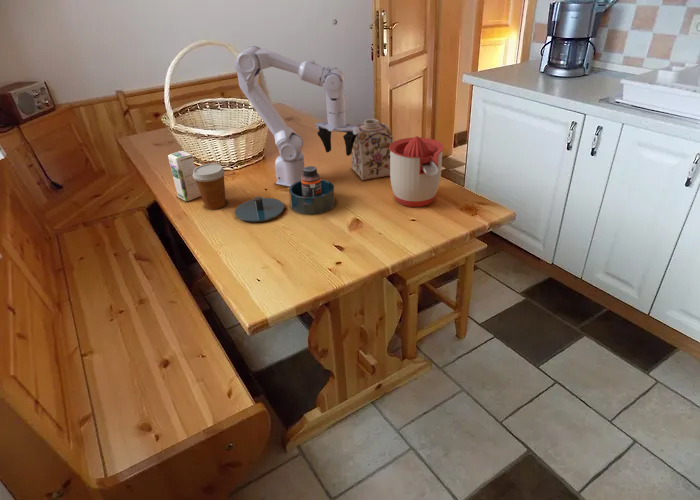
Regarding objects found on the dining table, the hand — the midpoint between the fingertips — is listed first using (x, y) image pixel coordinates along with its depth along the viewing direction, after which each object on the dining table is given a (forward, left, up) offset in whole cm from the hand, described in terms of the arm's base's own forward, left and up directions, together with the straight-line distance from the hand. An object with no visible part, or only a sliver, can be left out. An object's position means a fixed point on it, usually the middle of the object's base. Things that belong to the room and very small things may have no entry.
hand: (338, 153), depth 153 cm
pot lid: (-12, -28, -10) cm, 32 cm away
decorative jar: (+6, +12, -11) cm, 17 cm away
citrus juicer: (+28, -2, -11) cm, 30 cm away
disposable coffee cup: (-28, -30, -11) cm, 43 cm away
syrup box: (-40, -29, -11) cm, 51 cm away
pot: (0, -17, -10) cm, 20 cm away
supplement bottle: (0, -17, -10) cm, 20 cm away
